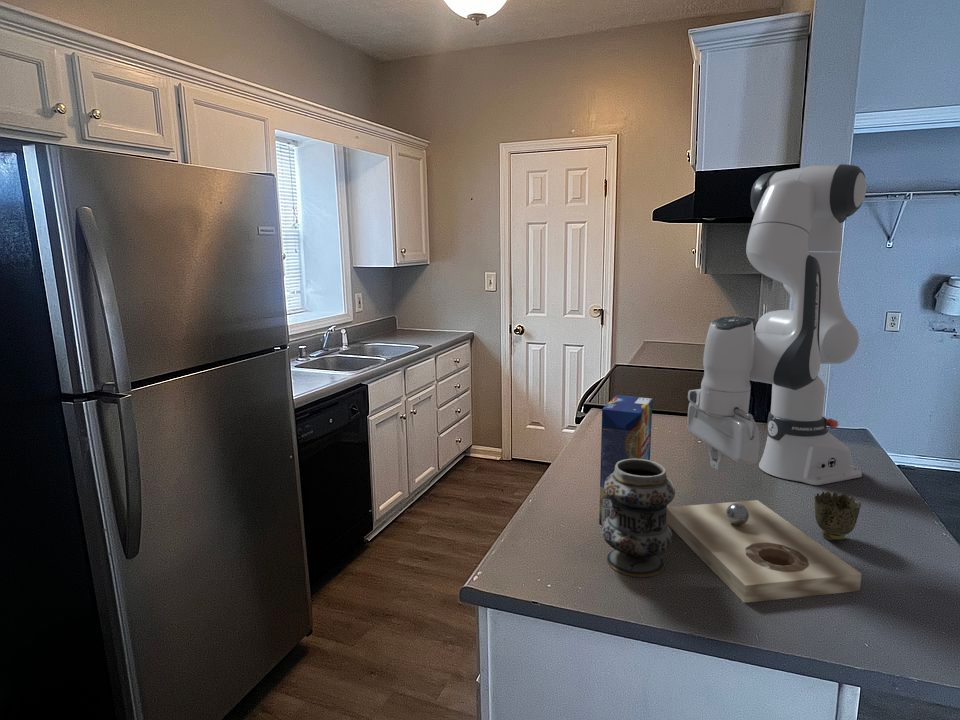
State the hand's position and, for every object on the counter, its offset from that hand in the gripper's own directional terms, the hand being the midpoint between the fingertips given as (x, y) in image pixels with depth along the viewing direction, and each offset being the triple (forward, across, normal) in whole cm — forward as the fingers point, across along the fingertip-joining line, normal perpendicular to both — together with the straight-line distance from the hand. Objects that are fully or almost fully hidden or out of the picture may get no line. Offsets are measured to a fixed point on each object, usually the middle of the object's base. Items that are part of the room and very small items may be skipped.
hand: (717, 469), depth 116 cm
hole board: (+11, -12, -1) cm, 16 cm away
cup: (+11, -10, -19) cm, 24 cm away
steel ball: (+6, -7, -1) cm, 9 cm away
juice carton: (+12, +6, +16) cm, 21 cm away
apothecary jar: (+12, -12, +21) cm, 27 cm away
